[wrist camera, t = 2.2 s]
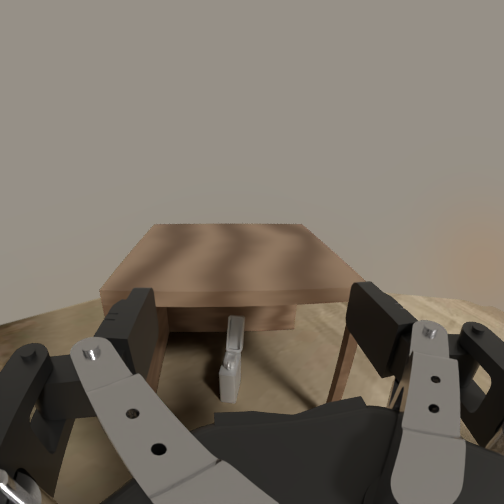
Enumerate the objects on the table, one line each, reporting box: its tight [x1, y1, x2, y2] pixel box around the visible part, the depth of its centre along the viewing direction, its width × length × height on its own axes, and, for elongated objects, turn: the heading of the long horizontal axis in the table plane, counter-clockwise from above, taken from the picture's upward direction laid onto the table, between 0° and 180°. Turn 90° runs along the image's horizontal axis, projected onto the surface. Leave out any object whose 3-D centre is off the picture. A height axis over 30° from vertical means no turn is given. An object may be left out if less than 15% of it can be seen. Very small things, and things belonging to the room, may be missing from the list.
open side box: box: [100, 224, 366, 403], centre depth 32 cm, size 20×20×16 cm
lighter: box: [219, 315, 245, 403], centre depth 31 cm, size 7×2×8 cm, turn 173°
